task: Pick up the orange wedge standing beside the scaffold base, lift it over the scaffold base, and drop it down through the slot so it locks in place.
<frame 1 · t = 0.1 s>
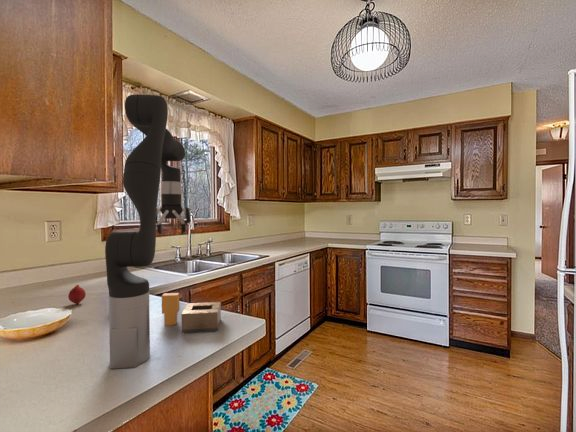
hand: (171, 233, 123), 29 cm above the worktop, tool pointing down, fingers open, 8 cm apart
onion: (77, 304, 126), on the worktop
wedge: (170, 323, 104), on the worktop
scaffold base: (202, 326, 102), on the worktop
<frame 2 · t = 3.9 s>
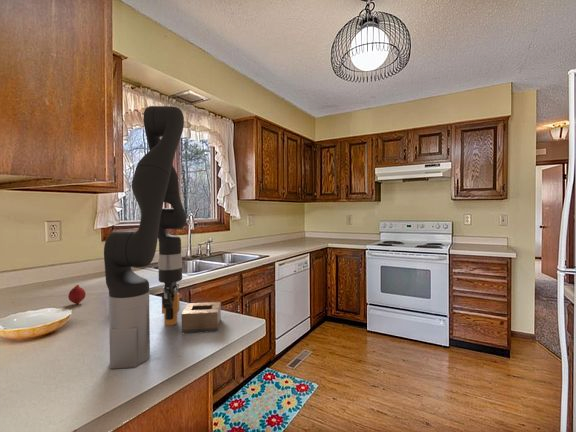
hand: (170, 317, 104), 2 cm above the worktop, tool pointing down, fingers closed on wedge, 3 cm apart
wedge: (171, 323, 104), on the worktop, touching gripper
everything else where it was.
when the fingers open (8 cm above the worktop, at t = 8.1 s): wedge drops 4 cm, resting on scaffold base.
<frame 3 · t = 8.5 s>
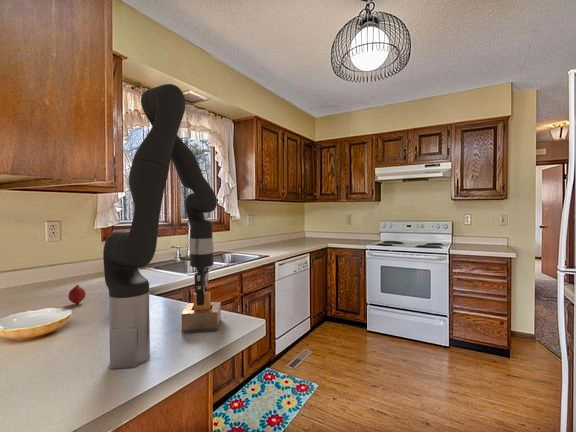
hand: (202, 301, 102), 8 cm above the worktop, tool pointing down, fingers open, 6 cm apart
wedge: (202, 322, 102), point 1 cm above the worktop, touching scaffold base
everything else where it was.
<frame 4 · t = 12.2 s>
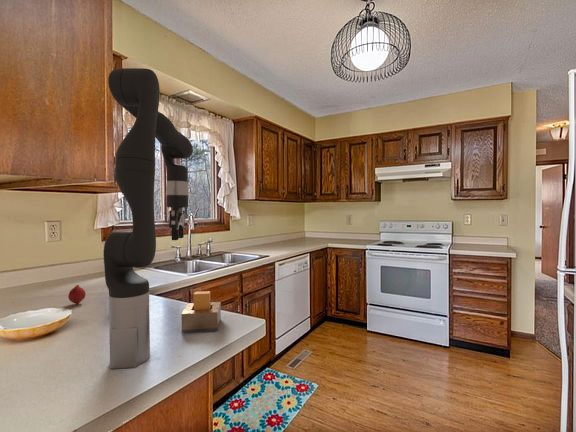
hand: (177, 239, 111), 28 cm above the worktop, tool pointing down, fingers open, 8 cm apart
nothing on the worktop moved.
at the end: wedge 0.1 cm off-centre on the scaffold base, point 1.2 cm above the scaffold base's base; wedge tilted 0°; the gripper is holding nothing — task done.
